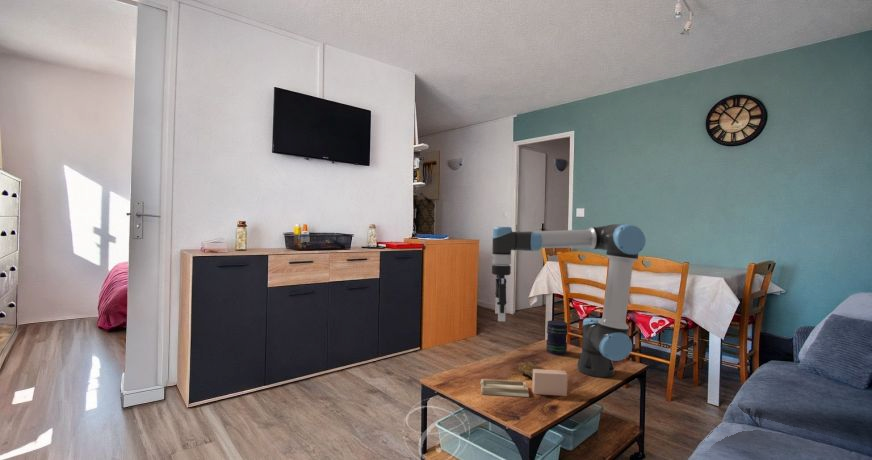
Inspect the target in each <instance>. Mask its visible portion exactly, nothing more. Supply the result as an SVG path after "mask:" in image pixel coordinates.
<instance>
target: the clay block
mask: <svg viewBox="0 0 872 460" xmlns="http://www.w3.org/2000/svg"><path fill="white" fill-rule="evenodd" d="M568 378H569V376H568V373H567V371H566V370H561V369H560V370H559V369H546V370H543V369H533V379H532V382H531V383H532V384H531V386H532V387H531V388H532V389H531V390H532V393H533V395H545V396H546V395H547V396H560V397H561V396H562V397H563V396H564V397H567V396H568Z"/></svg>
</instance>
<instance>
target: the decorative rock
mask: <svg viewBox="0 0 872 460" xmlns="http://www.w3.org/2000/svg"><path fill="white" fill-rule="evenodd" d="M533 369H543V370H547V368H544V367H541V366H539V365H535V364H534V363H532V362H529V361H528V362H520V363H518V371H519V372H522V374H524V375H526V376H529V377H530V378H531V379H532V380H533Z"/></svg>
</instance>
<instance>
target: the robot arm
mask: <svg viewBox="0 0 872 460" xmlns="http://www.w3.org/2000/svg"><path fill="white" fill-rule="evenodd" d="M492 231H493V232H492V236H491V237H492V238H491V239H492V245H491V246H492V250H491V251H492V253H491V254H492V256H490V259H492V260H491V261H492V262H491V263H492V266H491V274H492V275H495V276H496V278H495V292H494V294H495V308H494V311H495V312H494V313H495V315H496V314H497V322H506V312H507V311H506V310H507V309H506V307H507V305H506V304H507V278H505V276H510V275H511V273H512V272H511V271H512V270H511V268H512V266H511V264H512V251H525V252H526V251H528V252H538V251H541V249H558V248H559V249H561V248H564V249H565V248H589V249H590V250H601V251H606V254H605V256H606V257H607V258H608V260H609V262H608V263H609V264H608V272H607V277H606V286H605V294H604V301H603V302H604V303H603V311H602V317H601V318H600V317H599V318H598V317H586V318H584V319H583V321H582V336H581V337H582V339H581V340H582V343H581V344H582V345H581V346H582V347H581V353H580V356H579V358H578V361H577V363H576V365H577V370H578V372H581V373H582V374H585V375H587V376H592V377H596V378H597V377H598V378H610V377H613V376H614V375H615V370H616V369H615V367H614V363H613V361H616V362H618V361H622V360H625V359H626V358H627V357H629V356H630V354H631V353H632V350H633V343H632V339H631V338H630V337H629V331H630V326H629V325H628V324H627V323H626V319H627V313H628V304H629V298H630V290H631V289H630V288H631V282H632V281H631V280H632V274H633V265H634V263H636V262H637V261H638V260H639V254H640V252H641V251H642V250H644V248H645V246H646V241H647V240H646V235H645V233H644V232H643V230H641V228H640V227H638V226H636V225H634V224H629V223H620V224H615V223H614V224H608V225H603V226H591V227H589V228H588V229H570V230H569V229H567V230H535V231H534V230H533V231H521V230H520V231H513V230H512V227H511V226H495V227H494V228H493V230H492Z"/></svg>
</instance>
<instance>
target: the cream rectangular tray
mask: <svg viewBox="0 0 872 460" xmlns="http://www.w3.org/2000/svg"><path fill="white" fill-rule="evenodd" d="M480 388H481V395H486V396H487V395H488V396H504V397H505V396H507V397H519V398H520V397H522V398H523V397H524V398H529V397H530V393H529V392H530V391H529V388H528V385H527V383H526V381H525V380H514V379H513V380H512V379H510V380H508V379H491V378H490V379H489V378H481V379H480Z"/></svg>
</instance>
